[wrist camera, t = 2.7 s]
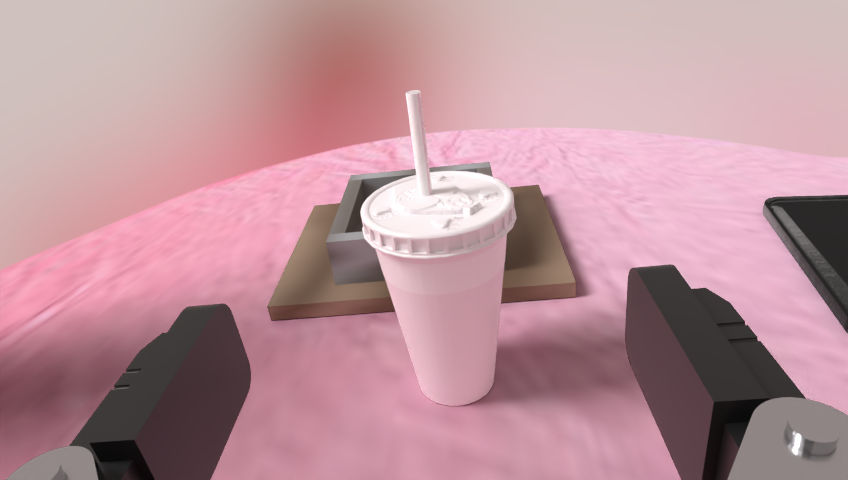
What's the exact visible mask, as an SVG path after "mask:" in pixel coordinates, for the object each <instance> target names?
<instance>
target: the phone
mask: <svg viewBox="0 0 848 480" xmlns="http://www.w3.org/2000/svg"><path fill="white" fill-rule="evenodd" d="M763 215H764V216H765V218H766V219H767V221H768V222H769V223H770V225H771V226H772V228H773V229H774V230H775V232H776V233H777V235H778V236H779V237H780V239H781V240H782V242H783V243H784V245H785V246H786V247H787V249H788V250H789V252H790V253H791V254H792V256H793V257H794V259H795V260H796V261H797V263H798V264H799V266H800V267H801V269H802V270H803V271H804V273H805V274H806V276H807V277H808V278H809V280H810V281H811V283H812V284H813V286H814V287H815V288H816V290H817V291H818V293H819V294H820V295H821V297H822V298H823V300H824V301H825V302H826V304H827V305H828V307H829V308H830V310H831V311H832V312H833V314H834V315H835V317H836V318H837V319H838V321H839V322H840V324H841V325H842V326H843V328H844V329H845V331H846V332H847V333H848V195H832V196H792V197H773V198H769V199H767V200H766V201H765V203H764V208H763Z"/></svg>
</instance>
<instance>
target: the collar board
mask: <svg viewBox="0 0 848 480" xmlns="http://www.w3.org/2000/svg"><path fill="white" fill-rule="evenodd" d="M429 170H430V172H439V171H468V172H475V173H481V174H485V175H489V176H492V171H491V167H490V162H484V163H474V164H463V165H453V166H443V167H433V168H429ZM413 175H416V169H412V170H402V171H391V172H381V173H371V174H361V175H351V177H350V179H349V182H348V185H347V187H346V190H345V193H344V195H343V198H342V201H341V203H339V204H328V205H318V206H314V208H313V210H312V212H311V215H310V217H309V219H308V221H307V223H306V225H305V227H304V230H303V232H302V234H301V236H300V238H299V240H298V242H297V244H296V247H295V249H294V251H293V253H292V255H291V257H290V259H289V262H288V264H287V266H286V268H285V270H284V272H283V274H282V277H281V279H280V281H279V283H278V285H277V287H276V289H275V291H274V294H273V296H272V298H271V300H270V302H269V304H268V306H267V307H268V311H269V314H270V317H271V320H283V319H296V318H309V317H322V316H335V315H348V314H361V313H374V312H387V311H395V308H394V305H393V302H392V299H391V296H390V293H389V290H388V287H387V283H386V280H385V277H384V275H383V272H382V269H381V266H380V262H379V259H378V256H377V252H376V249H375V248H373V247H372V246H371V245H370V244H369V243H368V242H367V241H366V240H365V239H364V235H363V231H362V228H363V224H362V219H361V213H360V211H361V207H362V205H363V203H364V202H365V200H366V199H367V198H368V197H369V196H370V195H371V194H372V193H373V192H375V191H376V190H378V189H380V188H381V187H383V186H385V185H387V184H389V183H391V182H394V181H397V180H400V179H402V178H406V177H409V176H413ZM492 177H493V176H492ZM510 189H511V190H512V192H513V195H514V208H515V212H516V217H517V218H516V220H515V223H514V226H513V228H512V229H511V230H510V231H509V232H508V233H507V240H506V254H505V263H504V274H503V285H502V297H501V303H504V302H517V301H530V300H542V299H555V298H568V297H576V281H575V278H574V276H573V273H572V271H571V268H570V265H569V263H568V260H567V258H566V255H565V252H564V250H563V247H562V245H561V242H560V239H559V237H558V234H557V232H556V229H555V226H554V224H553V221H552V219H551V216H550V213H549V211H548V208H547V206H546V203H545V200H544V198H543V195H542V193H541V190H540V187H539V185H532V186H521V187H511V188H510Z"/></svg>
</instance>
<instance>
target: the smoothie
mask: <svg viewBox="0 0 848 480" xmlns="http://www.w3.org/2000/svg"><path fill="white" fill-rule="evenodd" d="M406 99H407V107H408V114H409V122H410V130H411V138H412V145H413V153H414V161H415V169H416V175H413V176H409V177H406V178H402V179H400V180H397V181H394V182H391V183H389V184H387V185H385V186H383V187H381V188H380V189H378V190H376V191H375V192H373V193H372V194H371V195H370V196H369V197H368V198H367V199H366V200H365V202H364V203H363V205H362V207H361V211H360V213H361V219H362V224H363V228H362V231H363V235H364V239H365V240H366V241H367V242H368V243H369V244H370V245H371V246H372V247H373V248H375V249H376V252H377V256H378V259H379V262H380V266H381V269H382V272H383V275H384V277H385V280H386V283H387V287H388V290H389V293H390V296H391V299H392V302H393V305H394V308H395V311H396V314H397V317H398V320H399V324H400V327H401V330H402V333H403V336H404V339H405V342H406V345H407V348H408V351H409V354H410V357H411V360H412V364H413V367H414V370H415V373H416V376H417V379H418V382H419V385H420V388H421V390H422V392H423V393H424V395H425V396H426V397H427V398H429V399H430V400H432V401H434V402H436V403H439V404H442V405H448V406H460V405H466V404H470V403H473V402H475V401H477V400H479V399H481V398H482V397H484V396H485V395H486V394H487V393H488V392H489V391H490V389H491V388H492V386H493V383H494V375H495V364H496V353H497V342H498V330H499V319H500V308H501V297H502V285H503V274H504V263H505V254H506V240H507V233H508V232H509V231H510V230H511V229H512V228H513V226H514V223H515V220H516V218H517V217H516V212H515V208H514V195H513V192H512V190H511V189H510V187H509V186H508V185H507V184H505V183H504V182H502V181H501V180H499V179H497V178H494V177H492V176H489V175H485V174H481V173H475V172H468V171H439V172H430V170H429V162H428V153H427V145H426V136H425V129H424V119H423V111H422V102H421V93H420V91H418V90H414V91H409V92H406Z"/></svg>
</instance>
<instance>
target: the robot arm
mask: <svg viewBox="0 0 848 480" xmlns="http://www.w3.org/2000/svg"><path fill="white" fill-rule="evenodd" d="M625 341H626V349H627V354H628V358H629V362H630V365H631V367H632V369H633V372H634V374H635V376H636V378H637V381H638V383H639V385H640V387H641V390H642V392H643V394H644V396H645V399H646V401H647V403H648V405H649V408H650V410H651V412H652V414H653V417H654V419H655V421H656V424H657V426H658V428H659V430H660V433H661V435H662V437H663V439H664V442H665V444H666V446H667V448H668V451H669V453H670V455H671V457H672V460H673V462H674V464H675V466H676V469H677V471H678V473H679V475H680V478H681V480H848V415H846V414H844V413H843V412H841V411H839V410H837V409H835V408H833V407H831V406H828V405H825V404H823V403H820V402H816V401H813V400H809V399H806V398H805V397H804V395H803V394H802V393H801V392H800V390H799V389H798V388H797V387H796V385H795V384H794V383H793V382H792V380H791V379H790V378H789V377H788V375H787V374H786V373H785V372H784V370H783V369H782V368H781V367H780V365H779V364H778V363H777V362H776V360H775V359H774V358H773V356H772V355H771V354H770V353H769V351H768V350H767V349H766V348H765V346H764V345H763V344H762V343H761V341H758V340H757V336H756V335H755V334H754V333H753V331H752V330H751V329H750V328H749V326H748V325H745V321H744V320H743V319H742V317H741V316H740V315H739V314H738V312H737V311H736V310H735V309H734V307H733V306H732V305H731V304H730V303H729V302H728V301H726V300H724V299H723V298H721V297H720V296H718V295H716V294H715V293H713V292H711V291H710V290H708V289H707V288H699V289H691V288H690V287H689V285H688V284H687V282H686V281H685V280H684V278H683V277H682V275H681V274H680V273H679V271H678V270H677V268H676V267H675V266H674V265H660V266H649V267H638V268H631V269H630V271H629V275H628V289H627V308H626V327H625ZM250 381H251V371H250V364H249V361H248V358H247V355H246V352H245V349H244V346H243V343H242V340H241V338H240V335H239V332H238V329H237V326H236V323H235V320H234V317H233V315H232V312H231V310H230V308H229V307H228V306H227V305H226V304H213V305H202V306H190V307H186V308H185V309H184V310H183V311H182V312H181V314H180V315H179V317H178V318H177V319H176V321H175V322H174V324H173V325H172V327H171V328H170V329H169V331H168V332H167V333H162V334H161V335H159V336H158V337H157V338H156V339H154V340H153V341H152V342H151V343H149V344H148V345H147V346H146V347H144V348H143V349H142V350H140V352H139V353H138V354H137V356H136V357H135V358H134V360H133V361H132V362H131V364H130V365H129V366H128V368H127V369H126V373H124V374H123V375H122V376H121V377H120V379H119V380H118V381H117V383H116V384H115V385H114V387H115V388H114V390H111V391H110V392H109V393H108V395H107V396H106V397H105V399H104V400H103V401H102V403H101V404H100V405H99V407H98V408H97V409H96V411H95V412H94V414H93V415H92V416H91V418H90V419H89V420H88V422H87V423H86V424H85V426H84V427H83V428H82V430H81V431H80V432H79V434H78V435H77V436H76V438H75V439H74V440H73V442H72V443H71V444H70V446H67V447H62V448H57V449H54V450H51V451H48V452H46V453H44V454H41V455H39V456H37V457H36V458H34V459H32V460H30V461H29V462H27V463H25V464H24V465H23V466H21V467H20V468H18V469H17V470H16V471H15V472H14V473H12V474H11V475H10V476H9V477H8V478H7V479H6V480H211V477H212V475H213V473H214V470H215V468H216V466H217V463H218V461H219V459H220V457H221V454H222V452H223V450H224V447H225V445H226V443H227V440H228V438H229V436H230V433H231V431H232V429H233V427H234V424H235V422H236V420H237V417H238V415H239V413H240V410H241V408H242V406H243V404H244V401H245V399H246V397H247V394H248V392H249V388H250Z"/></svg>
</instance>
